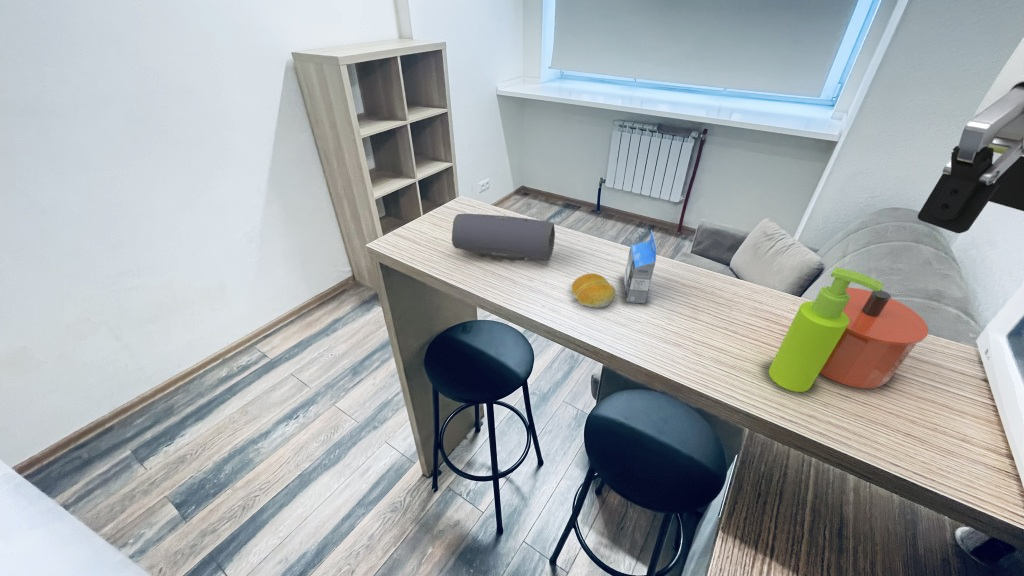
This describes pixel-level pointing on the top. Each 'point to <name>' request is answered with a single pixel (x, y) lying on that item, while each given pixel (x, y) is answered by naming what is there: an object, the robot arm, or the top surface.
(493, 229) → the bluetooth speaker
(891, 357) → the pot
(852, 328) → the pot lid
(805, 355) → the soap dispenser
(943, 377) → the top surface
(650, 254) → the label tape box
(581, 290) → the bread roll
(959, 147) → the robot arm
